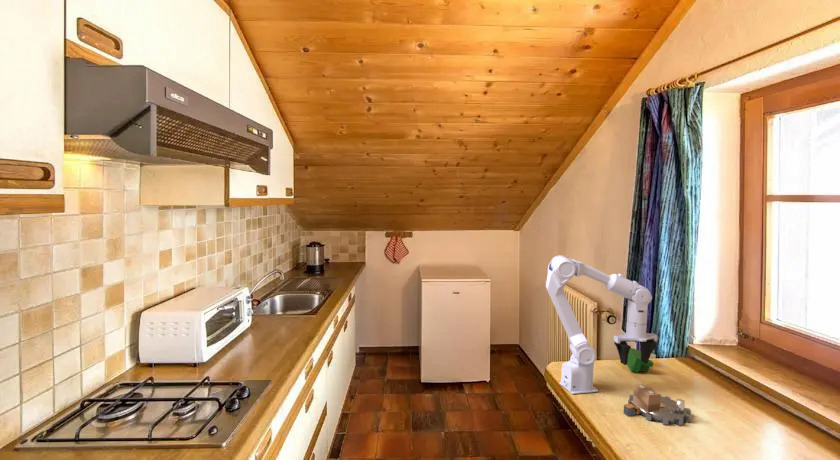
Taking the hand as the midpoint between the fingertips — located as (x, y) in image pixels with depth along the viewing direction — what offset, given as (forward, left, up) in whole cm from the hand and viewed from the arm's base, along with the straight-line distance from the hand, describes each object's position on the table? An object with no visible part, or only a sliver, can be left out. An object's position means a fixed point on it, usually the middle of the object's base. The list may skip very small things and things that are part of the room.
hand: (634, 363), depth 138 cm
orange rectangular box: (-11, -13, -9) cm, 20 cm away
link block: (-6, -13, -7) cm, 16 cm away
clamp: (+15, +16, -10) cm, 24 cm away
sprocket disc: (-2, -13, -9) cm, 16 cm away
